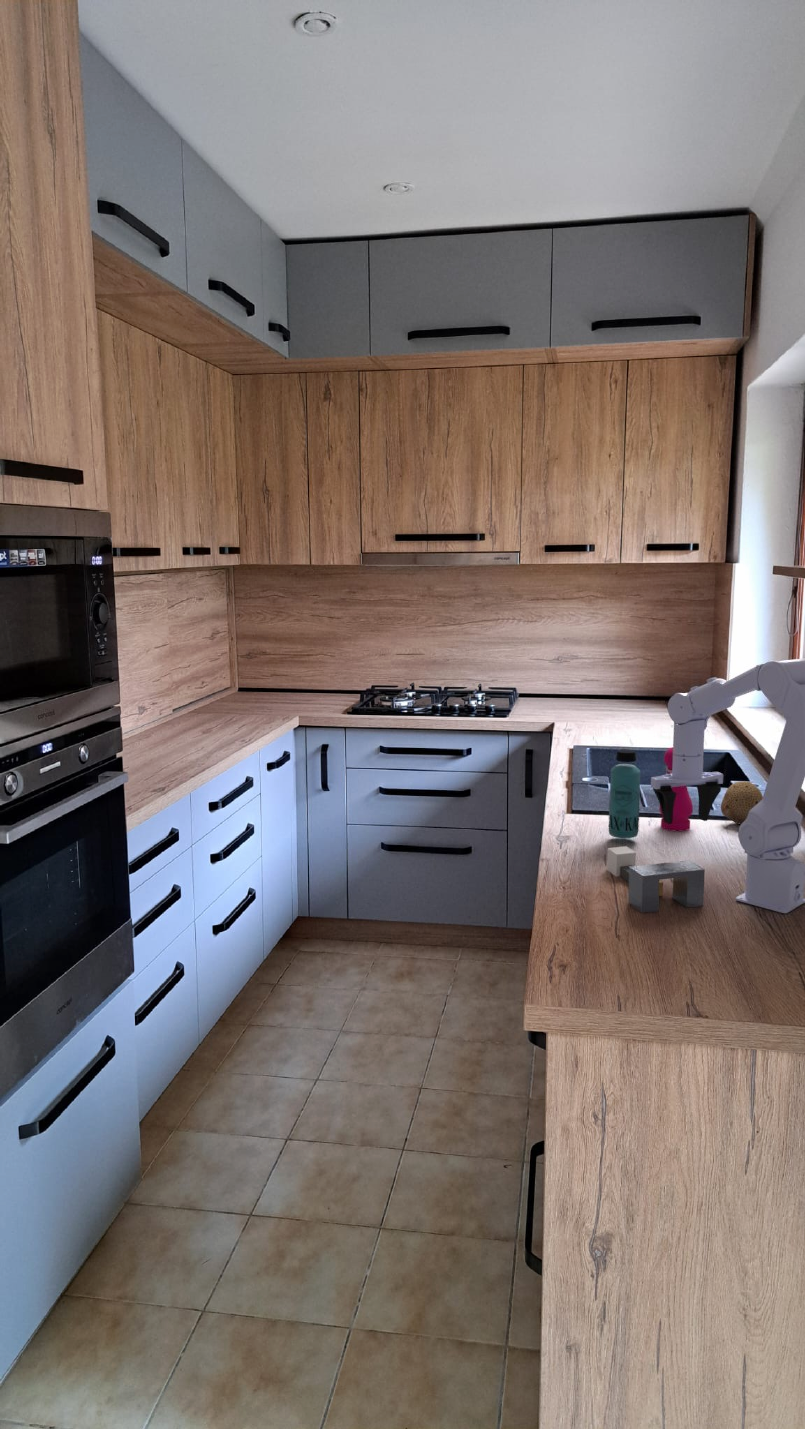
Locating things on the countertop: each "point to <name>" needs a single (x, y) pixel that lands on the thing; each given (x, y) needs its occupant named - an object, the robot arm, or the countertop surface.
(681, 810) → the pepper mill
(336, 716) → the countertop surface
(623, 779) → the beverage bottle
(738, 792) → the natural sponge
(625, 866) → the plug
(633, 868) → the housing
